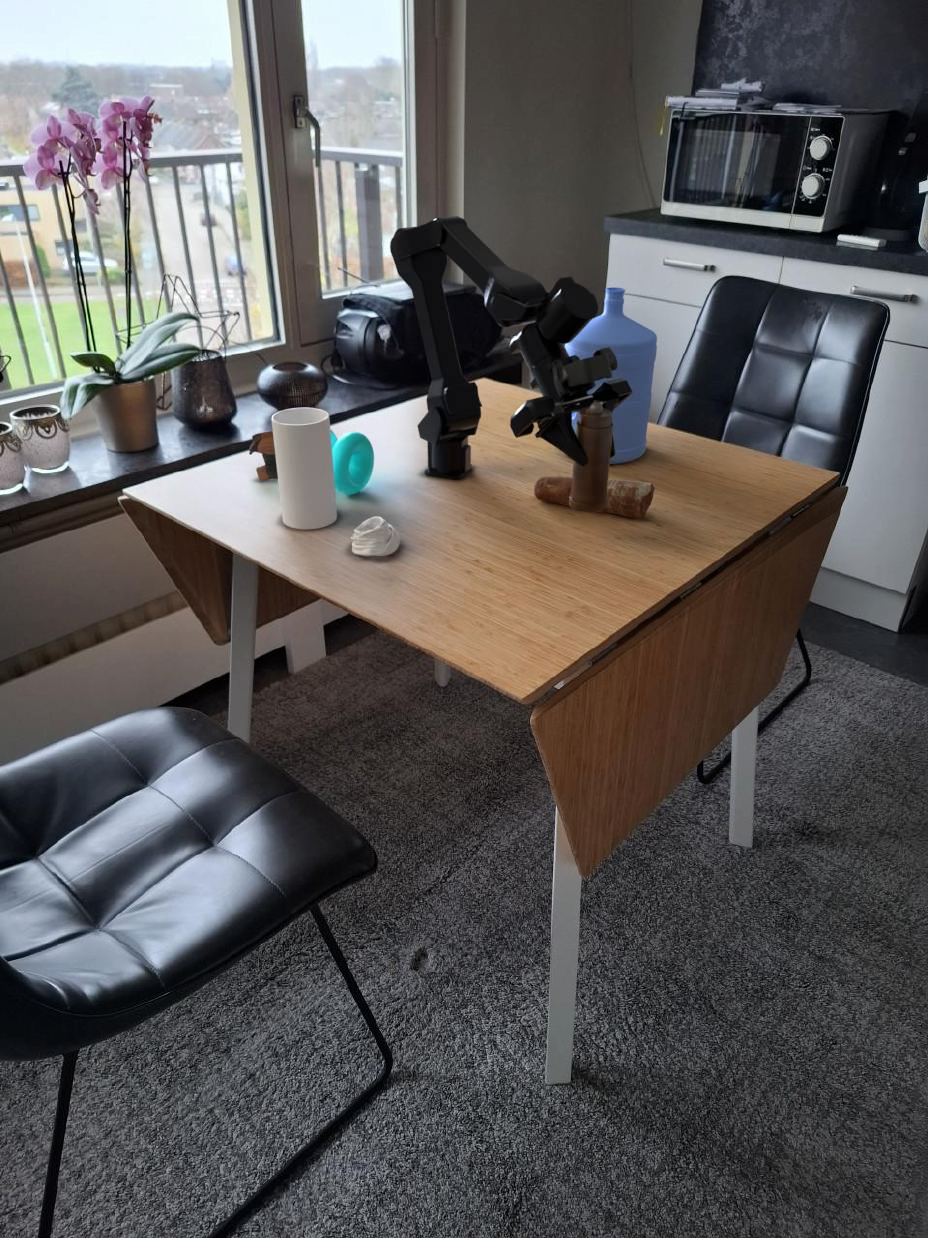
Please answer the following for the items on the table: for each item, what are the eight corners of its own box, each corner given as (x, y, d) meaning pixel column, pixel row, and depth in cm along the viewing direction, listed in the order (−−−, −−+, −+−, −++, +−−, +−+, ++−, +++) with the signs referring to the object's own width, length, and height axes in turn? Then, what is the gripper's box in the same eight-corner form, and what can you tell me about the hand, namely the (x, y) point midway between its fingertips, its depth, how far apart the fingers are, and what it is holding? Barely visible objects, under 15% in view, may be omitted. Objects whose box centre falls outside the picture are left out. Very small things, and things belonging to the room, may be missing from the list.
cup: (346, 511, 137) (338, 410, 129) (321, 532, 130) (312, 427, 122) (298, 504, 139) (288, 404, 131) (272, 525, 132) (260, 421, 124)
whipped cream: (389, 569, 122) (390, 539, 119) (342, 561, 123) (342, 531, 120) (403, 541, 128) (404, 511, 126) (358, 533, 129) (359, 504, 126)
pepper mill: (571, 512, 123) (579, 408, 116) (566, 497, 128) (573, 396, 120) (610, 512, 124) (620, 408, 116) (603, 497, 128) (612, 396, 121)
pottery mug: (240, 483, 148) (235, 434, 148) (271, 489, 156) (266, 442, 156) (303, 472, 144) (298, 422, 143) (331, 478, 152) (326, 431, 152)
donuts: (343, 505, 139) (339, 444, 134) (293, 492, 143) (287, 433, 138) (379, 484, 146) (376, 425, 141) (330, 473, 151) (325, 416, 146)
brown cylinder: (645, 526, 132) (649, 491, 130) (528, 504, 140) (529, 470, 137) (657, 510, 137) (661, 476, 134) (543, 490, 144) (544, 457, 142)
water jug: (658, 445, 163) (677, 286, 148) (623, 472, 151) (640, 302, 137) (581, 431, 170) (592, 277, 155) (543, 455, 158) (551, 291, 144)
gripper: (527, 338, 111) (581, 446, 110) (629, 319, 121) (681, 418, 119) (487, 386, 121) (536, 486, 119) (585, 364, 131) (632, 456, 129)
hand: (598, 460), depth 121 cm, fingers closed on pepper mill, 5 cm apart
